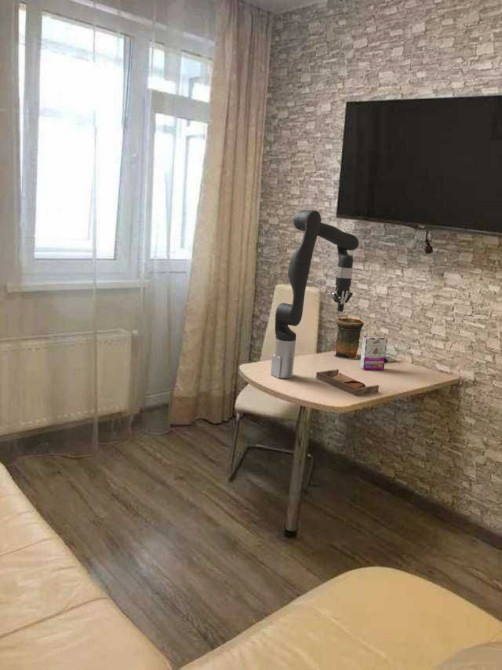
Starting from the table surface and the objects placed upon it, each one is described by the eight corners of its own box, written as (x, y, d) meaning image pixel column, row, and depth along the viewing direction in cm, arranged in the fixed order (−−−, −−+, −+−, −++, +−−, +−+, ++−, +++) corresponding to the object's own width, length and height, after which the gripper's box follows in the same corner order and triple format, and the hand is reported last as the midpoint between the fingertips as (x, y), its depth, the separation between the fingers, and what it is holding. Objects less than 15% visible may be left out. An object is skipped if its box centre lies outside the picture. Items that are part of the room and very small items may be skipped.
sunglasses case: (325, 380, 251) (332, 367, 251) (334, 386, 255) (341, 374, 255) (351, 393, 236) (359, 379, 237) (361, 399, 240) (368, 386, 241)
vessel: (365, 357, 298) (369, 320, 293) (351, 361, 288) (354, 324, 283) (342, 351, 307) (346, 315, 303) (328, 355, 297) (331, 319, 292)
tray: (356, 396, 233) (357, 389, 232) (315, 378, 253) (316, 372, 253) (378, 392, 240) (378, 385, 239) (336, 375, 261) (337, 369, 260)
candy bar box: (379, 367, 280) (383, 336, 276) (384, 370, 275) (388, 338, 271) (359, 367, 277) (362, 335, 274) (362, 370, 273) (366, 337, 269)
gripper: (348, 275, 277) (344, 309, 281) (328, 275, 270) (325, 310, 274) (359, 277, 271) (355, 312, 275) (339, 277, 264) (335, 313, 268)
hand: (340, 311), depth 274 cm, fingers closed
